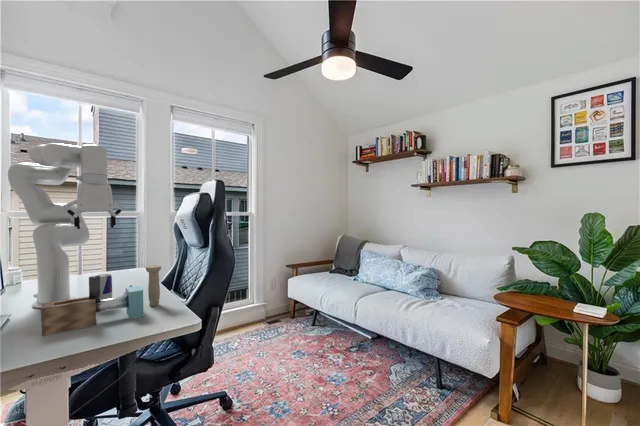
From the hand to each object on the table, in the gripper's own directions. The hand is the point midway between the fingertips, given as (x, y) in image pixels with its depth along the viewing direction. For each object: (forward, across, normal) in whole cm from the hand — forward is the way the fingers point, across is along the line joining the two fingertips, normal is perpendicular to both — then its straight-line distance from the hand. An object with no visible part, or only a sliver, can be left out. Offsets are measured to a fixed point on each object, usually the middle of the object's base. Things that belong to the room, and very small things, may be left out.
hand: (95, 228), depth 107 cm
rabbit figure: (+31, +12, +15) cm, 36 cm away
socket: (+30, +10, -11) cm, 34 cm away
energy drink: (+31, +2, +7) cm, 31 cm away
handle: (+31, +17, -4) cm, 35 cm away
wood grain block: (+30, -7, -11) cm, 33 cm away
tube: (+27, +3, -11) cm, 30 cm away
